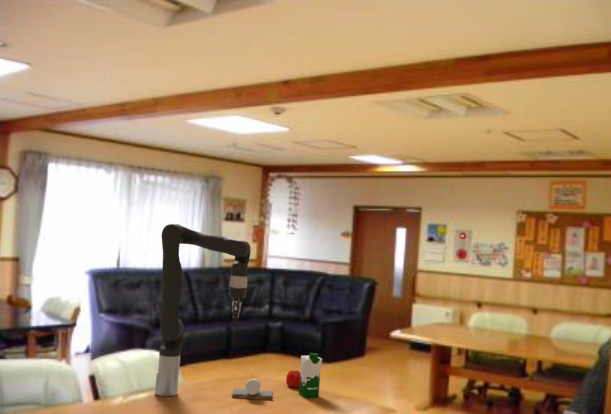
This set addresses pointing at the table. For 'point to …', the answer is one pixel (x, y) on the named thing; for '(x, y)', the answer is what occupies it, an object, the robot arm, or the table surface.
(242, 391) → the mat
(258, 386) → the supplement bottle
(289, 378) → the tomato
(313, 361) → the milk carton
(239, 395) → the rail
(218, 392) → the table surface
